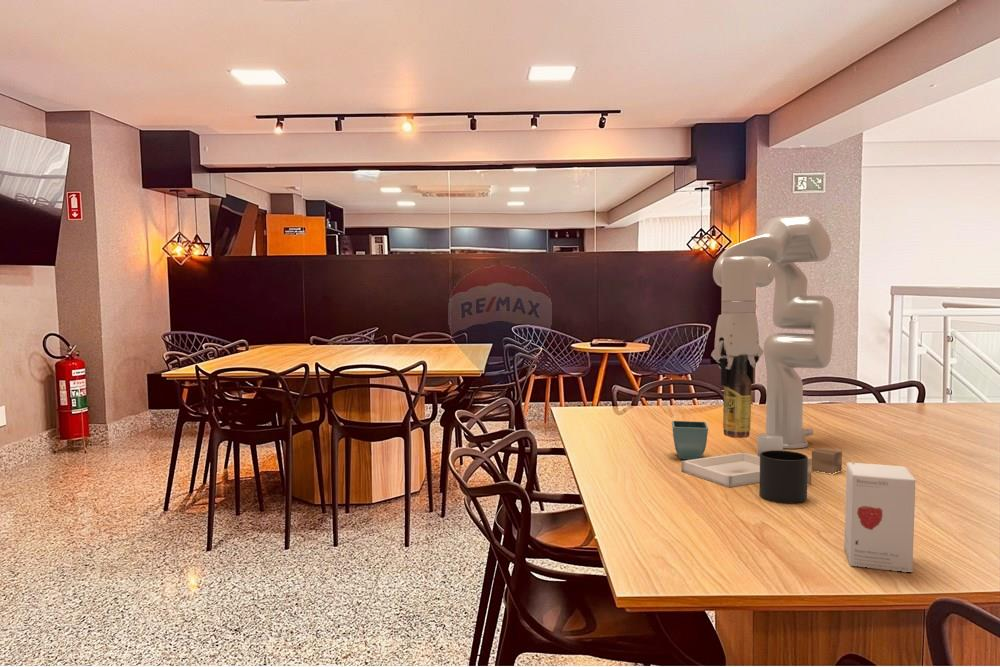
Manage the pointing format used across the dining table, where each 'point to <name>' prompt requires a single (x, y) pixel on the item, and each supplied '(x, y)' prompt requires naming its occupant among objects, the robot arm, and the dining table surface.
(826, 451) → the walnut cube
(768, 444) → the white rounded block
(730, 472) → the tray
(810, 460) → the beech block
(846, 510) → the supplement box
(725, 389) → the sauce bottle
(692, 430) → the flower pot
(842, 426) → the dining table surface
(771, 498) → the mug
